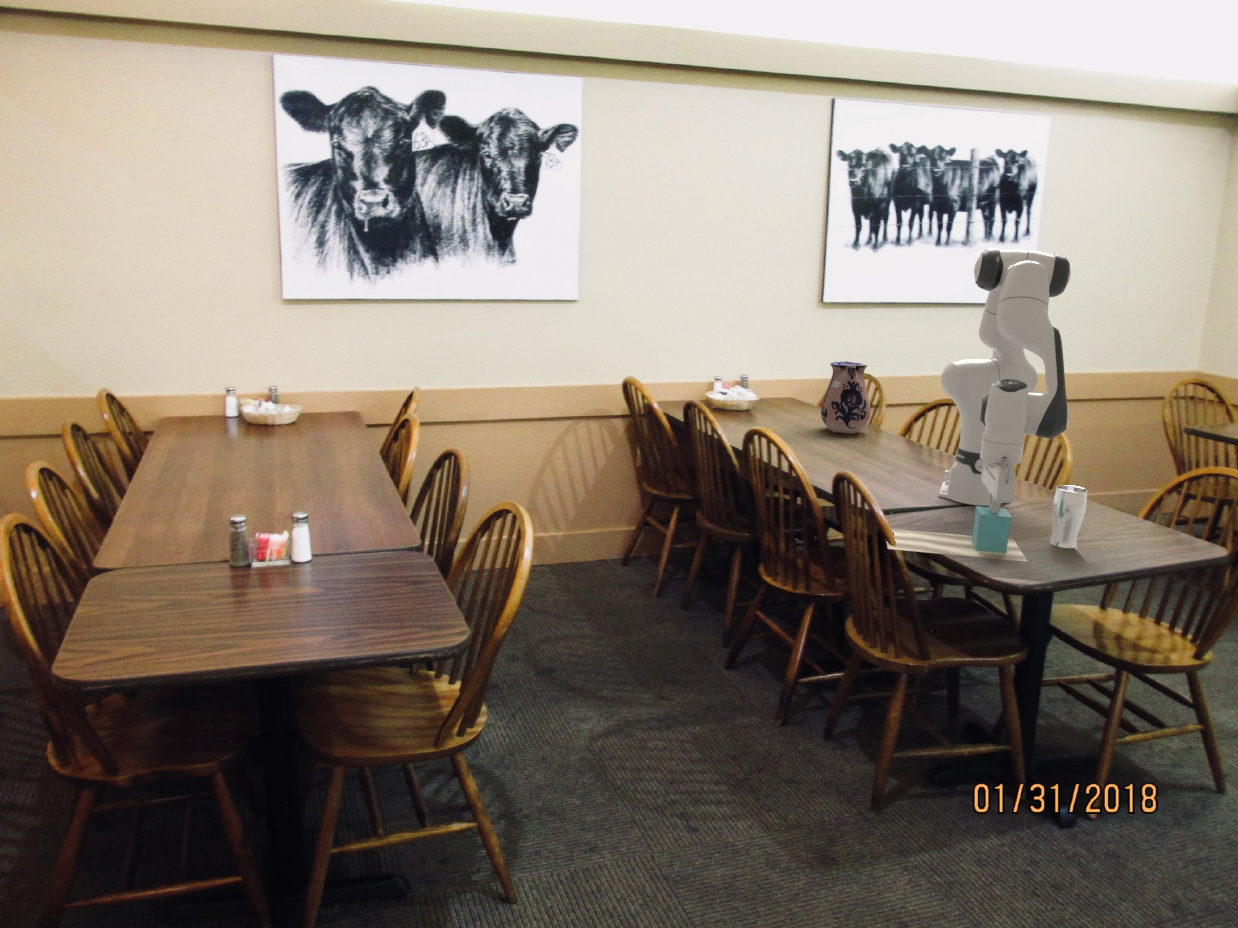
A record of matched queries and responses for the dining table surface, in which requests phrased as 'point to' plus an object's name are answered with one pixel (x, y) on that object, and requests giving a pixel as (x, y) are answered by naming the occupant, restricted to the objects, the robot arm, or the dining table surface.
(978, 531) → the turquoise rectangular block
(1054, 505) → the beer glass
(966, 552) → the birch board
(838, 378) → the ceramic pitcher
